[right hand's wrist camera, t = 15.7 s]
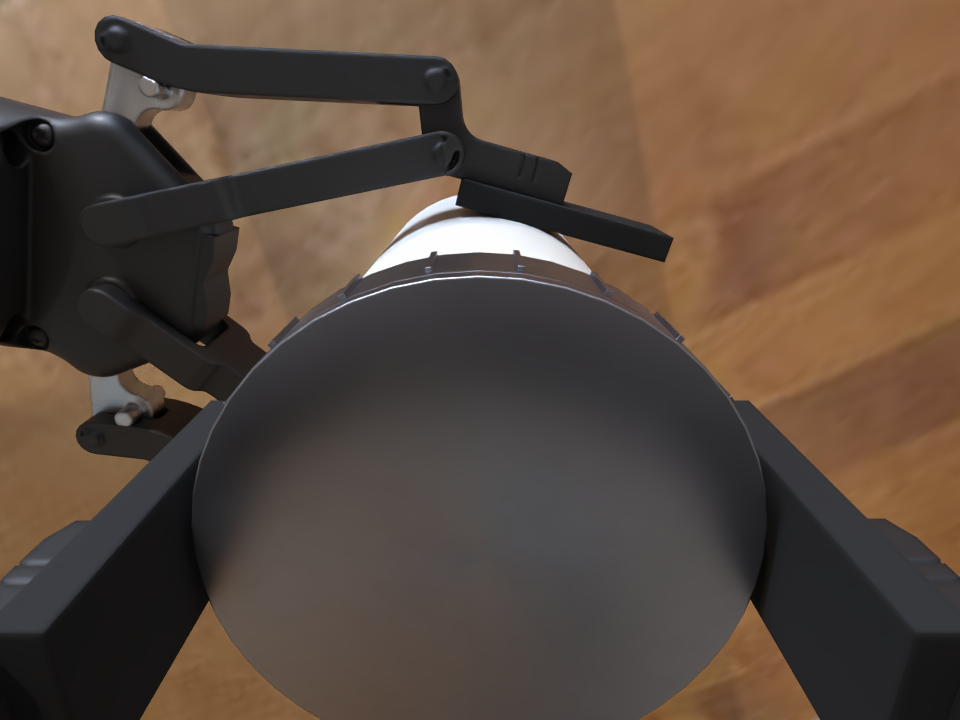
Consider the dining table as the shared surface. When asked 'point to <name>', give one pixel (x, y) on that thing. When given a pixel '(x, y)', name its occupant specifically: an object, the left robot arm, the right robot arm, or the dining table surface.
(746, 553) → the lid
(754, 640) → the dining table surface
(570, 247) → the jar
